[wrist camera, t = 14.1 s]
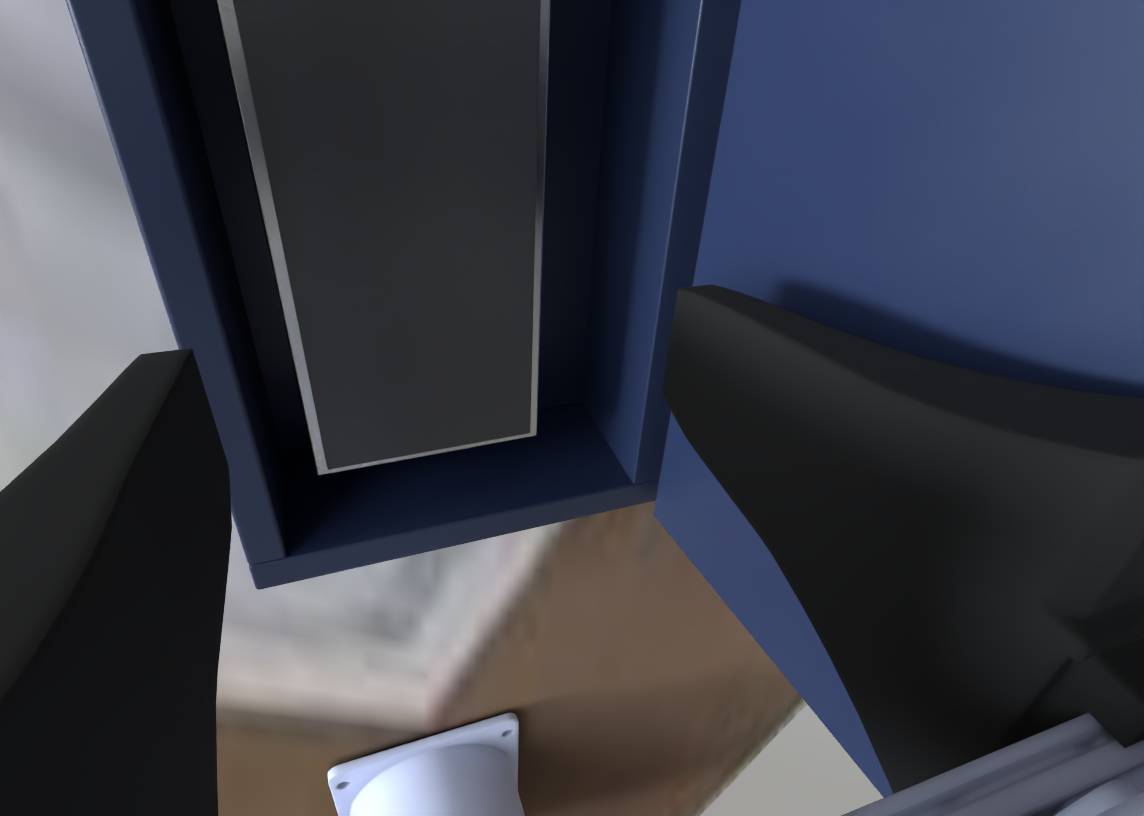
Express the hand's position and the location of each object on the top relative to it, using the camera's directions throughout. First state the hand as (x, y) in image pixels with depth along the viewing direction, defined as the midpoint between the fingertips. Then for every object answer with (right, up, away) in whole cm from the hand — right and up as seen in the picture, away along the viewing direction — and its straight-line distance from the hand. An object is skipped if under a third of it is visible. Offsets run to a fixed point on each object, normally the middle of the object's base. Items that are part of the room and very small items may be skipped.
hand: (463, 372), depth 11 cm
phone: (-2, +4, +5) cm, 7 cm away
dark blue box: (-2, +4, +6) cm, 8 cm away
